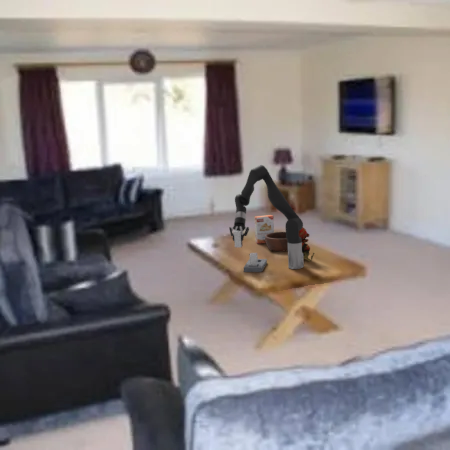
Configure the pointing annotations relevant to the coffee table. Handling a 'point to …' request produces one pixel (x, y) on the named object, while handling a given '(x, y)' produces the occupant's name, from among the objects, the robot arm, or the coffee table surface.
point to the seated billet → (253, 260)
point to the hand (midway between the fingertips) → (237, 240)
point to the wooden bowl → (277, 241)
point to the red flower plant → (305, 247)
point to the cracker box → (263, 227)
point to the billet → (238, 238)
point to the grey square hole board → (260, 267)
